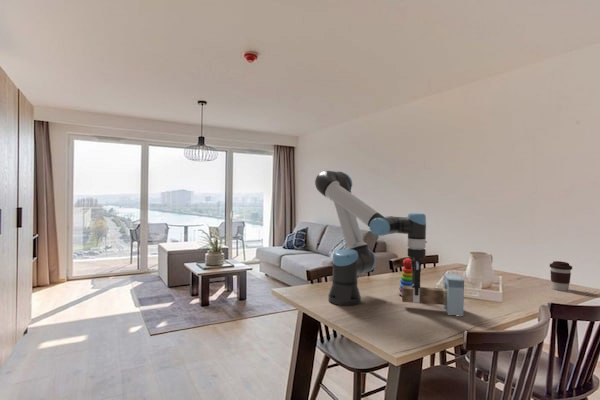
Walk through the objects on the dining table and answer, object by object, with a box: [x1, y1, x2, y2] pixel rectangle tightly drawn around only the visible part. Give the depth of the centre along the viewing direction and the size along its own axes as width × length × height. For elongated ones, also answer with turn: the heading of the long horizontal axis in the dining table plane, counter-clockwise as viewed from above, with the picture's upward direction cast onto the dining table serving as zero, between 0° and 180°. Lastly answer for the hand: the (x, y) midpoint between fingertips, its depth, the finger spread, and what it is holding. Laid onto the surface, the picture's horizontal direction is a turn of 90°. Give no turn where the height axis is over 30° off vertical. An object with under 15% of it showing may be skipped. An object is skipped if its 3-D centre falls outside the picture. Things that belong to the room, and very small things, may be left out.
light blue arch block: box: [442, 273, 465, 317], centre depth 148 cm, size 6×12×15 cm, turn 166°
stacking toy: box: [398, 257, 413, 297], centre depth 171 cm, size 8×8×19 cm
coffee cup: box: [549, 260, 573, 292], centre depth 188 cm, size 10×10×15 cm
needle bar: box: [401, 286, 447, 306], centre depth 151 cm, size 20×4×6 cm, turn 76°
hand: (415, 300), depth 152 cm, fingers closed on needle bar, 4 cm apart
